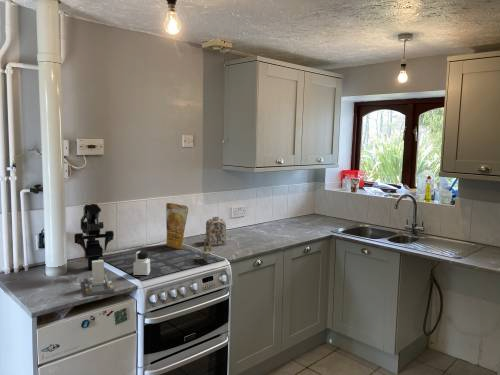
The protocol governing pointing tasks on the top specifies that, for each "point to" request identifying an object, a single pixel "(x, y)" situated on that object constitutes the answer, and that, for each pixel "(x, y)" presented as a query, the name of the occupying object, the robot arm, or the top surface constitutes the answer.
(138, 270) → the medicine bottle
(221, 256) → the top surface
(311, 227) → the top surface
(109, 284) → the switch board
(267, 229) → the top surface
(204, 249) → the architectural model
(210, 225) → the decorative jar
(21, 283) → the top surface
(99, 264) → the slider tab
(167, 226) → the pancake mix bag
